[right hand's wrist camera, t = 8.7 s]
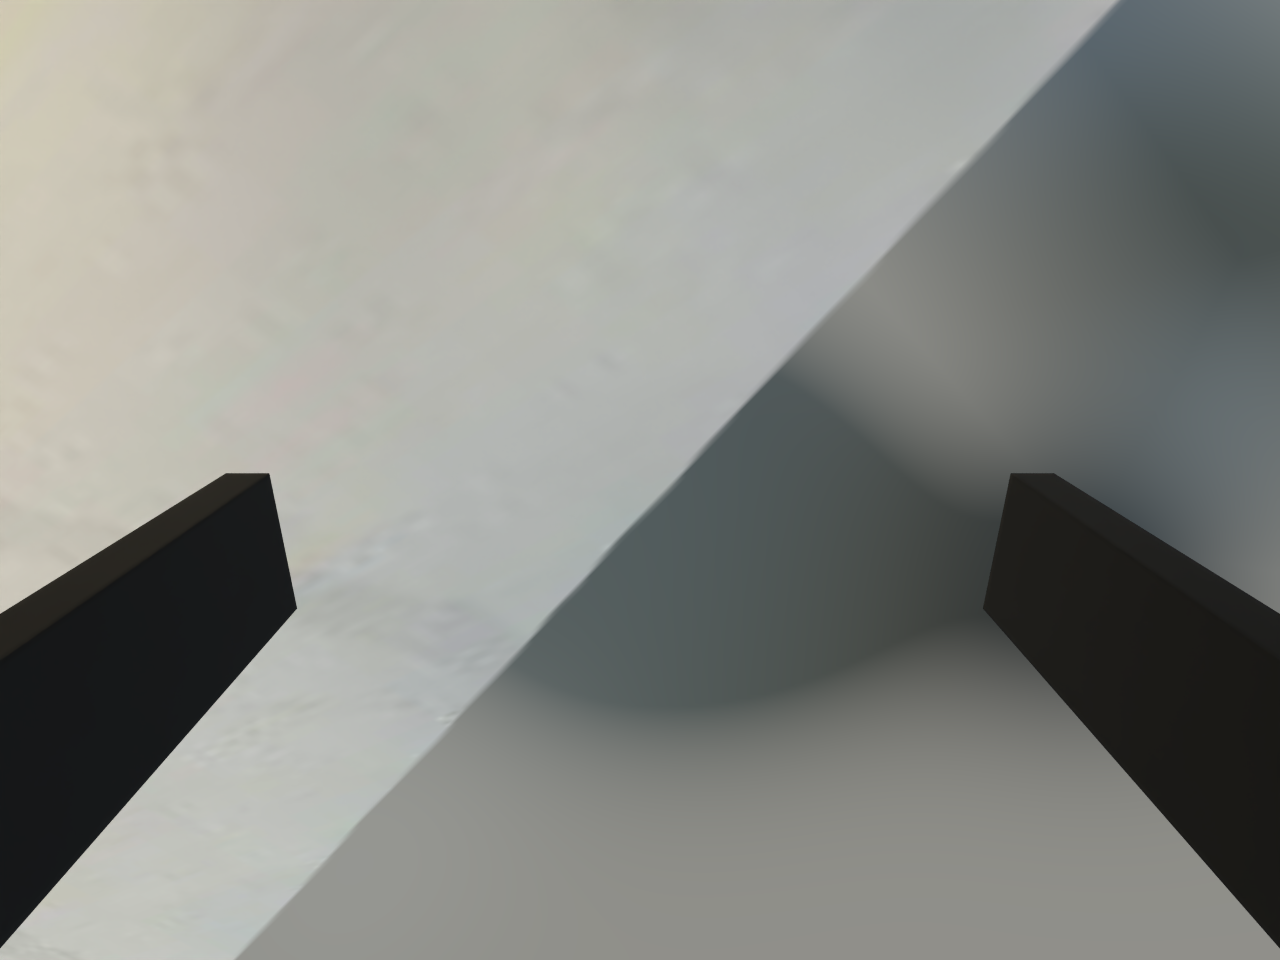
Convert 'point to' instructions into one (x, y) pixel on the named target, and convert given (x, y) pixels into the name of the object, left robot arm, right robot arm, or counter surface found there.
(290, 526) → the counter surface
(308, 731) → the counter surface
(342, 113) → the counter surface
